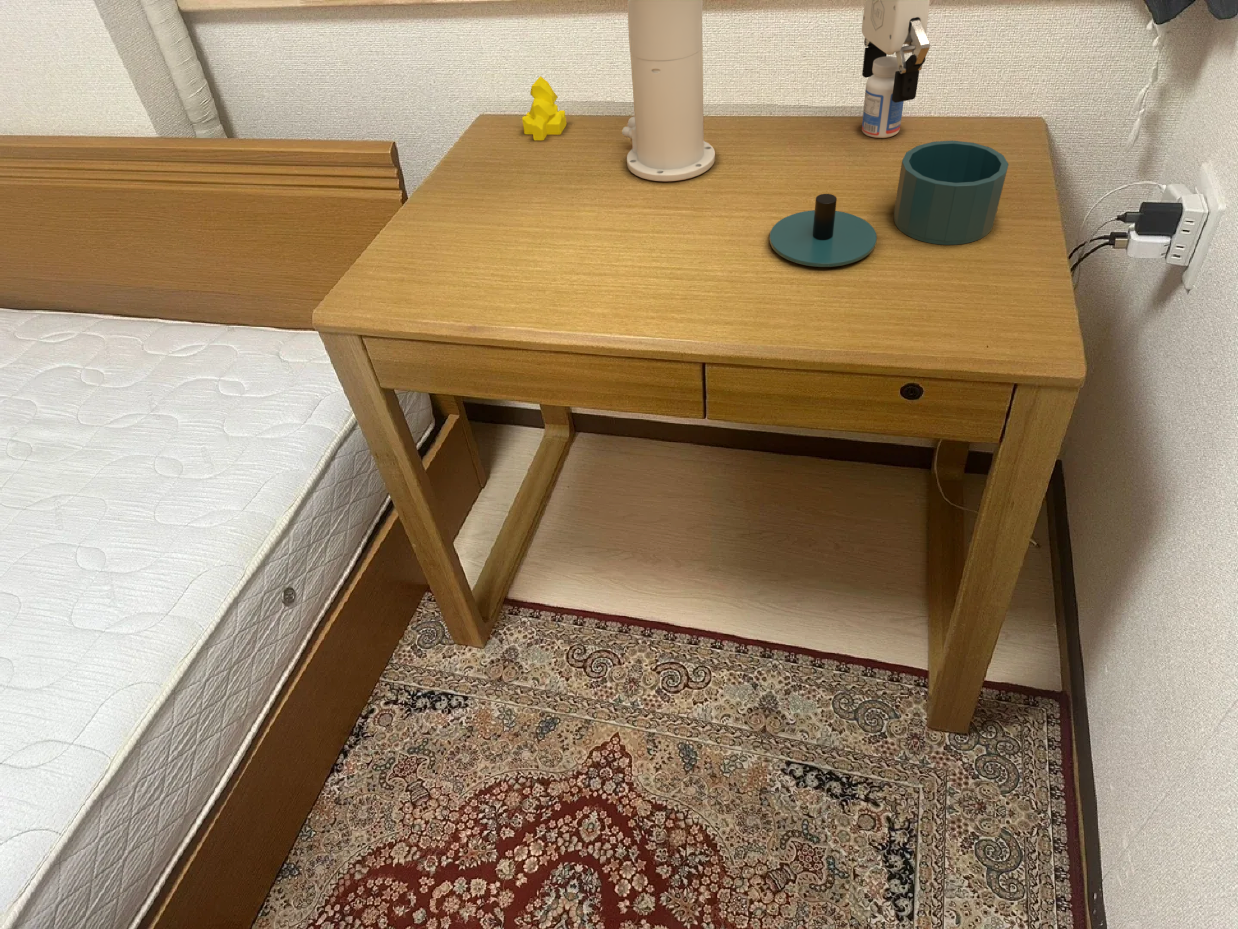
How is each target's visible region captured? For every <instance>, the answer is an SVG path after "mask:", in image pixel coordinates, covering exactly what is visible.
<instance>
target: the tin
mask: <svg viewBox="0 0 1238 929" xmlns="http://www.w3.org/2000/svg"><path fill="white" fill-rule="evenodd" d="M1008 168H1009V163H1008V161H1007V159H1006V157H1005V156H1004V155H1003V154H1002V153H1001V152H998V151H997V150H995V149H993V148H992V147H989V146H986V145H983V144H979V143H976V142H971V141H961V140H939V141H929V142H927V143H923V144H919V145H915V147H913V148H911V149H910V150H908V151H906V152H905V153H904V156H903V158H902V160H901V165H900V172H899V178H898V183H897V184H898V186H897V191H896V197H895V204H894V210H893V222H894V224H895V226H896V228H897V229H898V230H899V231H900V232H901V233H903V234H904V235H906V236H908V237H910V238H912V239H914V240H917V241H920V242H923V243H928V244H933V245H942V246H955V245H956V246H957V245H963V244H970V243H974V242H976V241H979V240H981V239H983V238H985V237H986V236H988V235H989V234H990V233H991V231H992V229H993V227H994V224H995V221H996V217H997V213H998V208H999V205H1000V200H1001V197H1002V193H1003V188H1004V185H1005V181H1006V176H1007V172H1008Z"/></svg>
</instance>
